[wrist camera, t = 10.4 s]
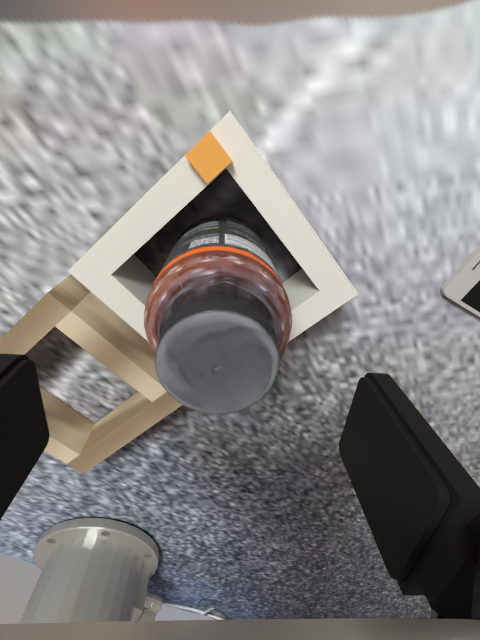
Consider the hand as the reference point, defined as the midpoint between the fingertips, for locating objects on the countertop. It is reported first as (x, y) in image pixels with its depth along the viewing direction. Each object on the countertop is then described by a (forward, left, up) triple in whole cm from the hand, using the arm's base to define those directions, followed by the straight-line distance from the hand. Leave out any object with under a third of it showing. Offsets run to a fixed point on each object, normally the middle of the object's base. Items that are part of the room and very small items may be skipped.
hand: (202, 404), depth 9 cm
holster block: (0, +12, -12) cm, 17 cm away
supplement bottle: (0, -1, -13) cm, 12 cm away
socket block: (0, -1, -12) cm, 12 cm away
